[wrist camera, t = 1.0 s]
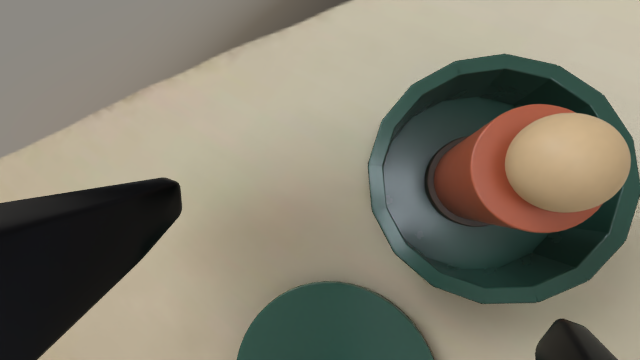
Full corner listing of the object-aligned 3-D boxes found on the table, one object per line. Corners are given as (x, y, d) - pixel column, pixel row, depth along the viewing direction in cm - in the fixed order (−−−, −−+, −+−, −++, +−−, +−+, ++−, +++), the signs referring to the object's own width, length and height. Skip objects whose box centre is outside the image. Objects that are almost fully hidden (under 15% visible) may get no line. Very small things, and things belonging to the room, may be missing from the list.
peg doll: (476, 243, 20) (617, 303, 8) (406, 187, 21) (444, 169, 9) (536, 176, 20) (771, 140, 8) (462, 121, 21) (575, 18, 9)
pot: (483, 320, 20) (516, 359, 15) (334, 193, 22) (322, 191, 18) (620, 169, 19) (703, 159, 15) (452, 52, 22) (474, 9, 17)
